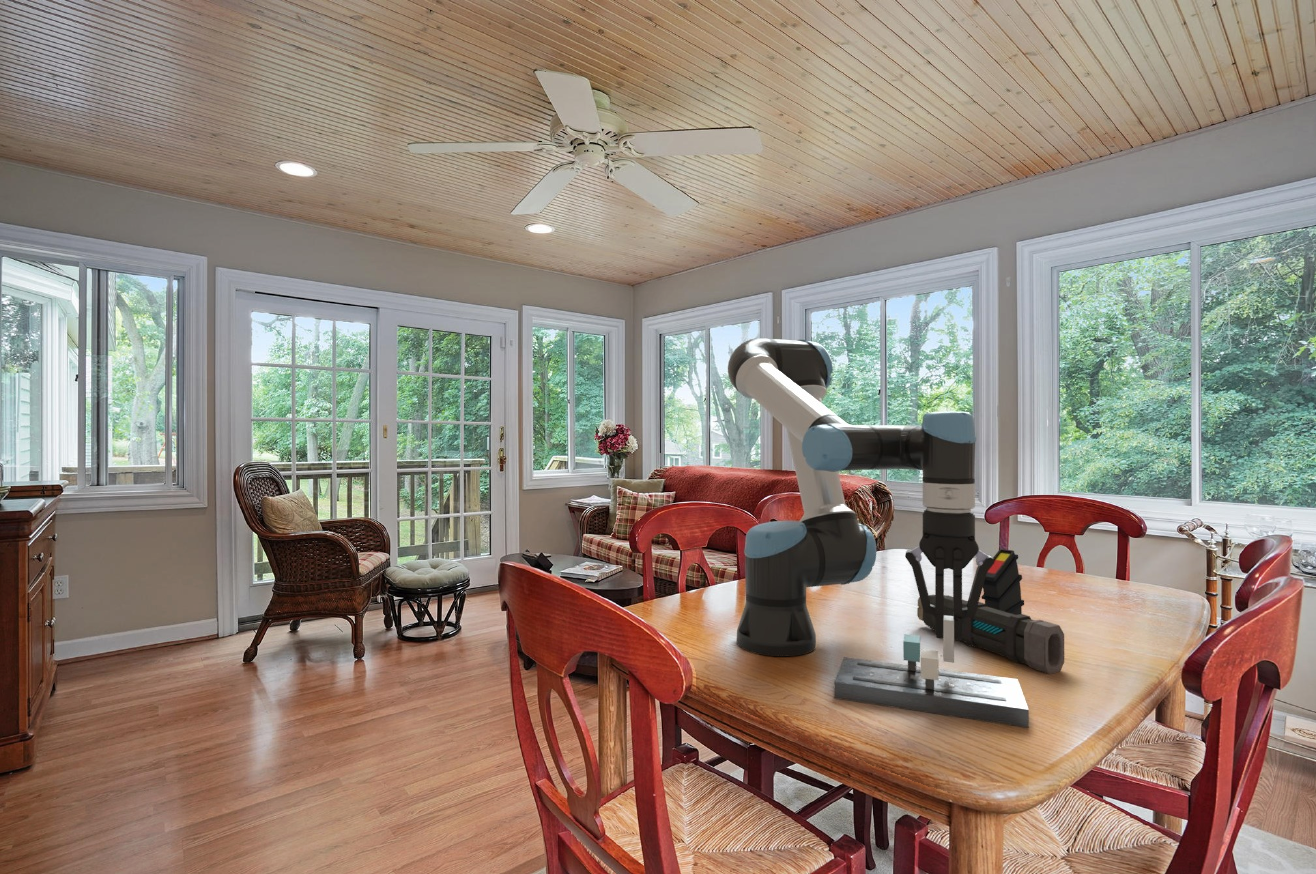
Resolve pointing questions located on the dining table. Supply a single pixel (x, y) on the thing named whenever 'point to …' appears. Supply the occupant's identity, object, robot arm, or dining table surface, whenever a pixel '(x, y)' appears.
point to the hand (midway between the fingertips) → (948, 659)
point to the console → (933, 691)
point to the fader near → (929, 667)
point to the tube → (1008, 635)
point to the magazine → (1003, 583)
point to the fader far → (911, 650)
